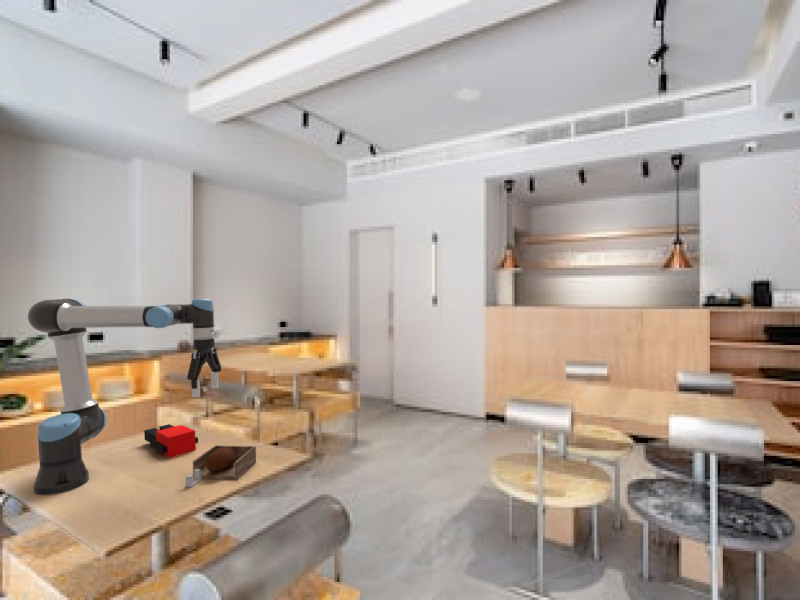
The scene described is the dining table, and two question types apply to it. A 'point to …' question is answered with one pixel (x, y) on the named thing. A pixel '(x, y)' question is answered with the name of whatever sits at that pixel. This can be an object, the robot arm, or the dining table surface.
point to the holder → (234, 472)
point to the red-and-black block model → (171, 439)
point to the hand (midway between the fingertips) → (205, 392)
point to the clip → (190, 481)
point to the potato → (220, 460)
